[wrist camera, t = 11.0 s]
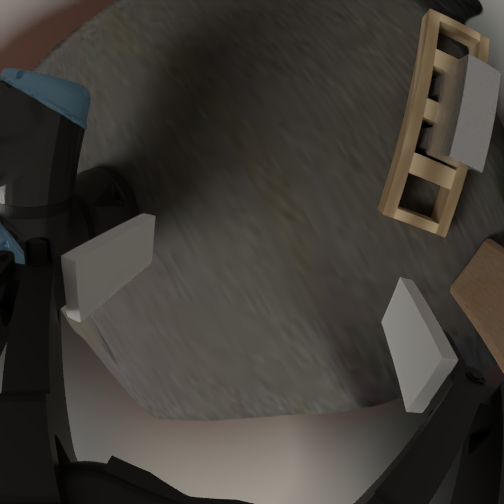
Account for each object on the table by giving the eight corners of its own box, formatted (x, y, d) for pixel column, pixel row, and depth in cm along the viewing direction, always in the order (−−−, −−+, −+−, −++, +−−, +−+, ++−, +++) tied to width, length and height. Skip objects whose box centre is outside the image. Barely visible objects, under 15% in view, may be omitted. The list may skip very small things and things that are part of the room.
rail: (377, 208, 37) (382, 214, 34) (422, 17, 27) (429, 8, 24) (436, 230, 36) (445, 237, 33) (478, 45, 26) (489, 39, 23)
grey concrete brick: (413, 152, 34) (449, 156, 23) (430, 75, 30) (468, 53, 19) (439, 163, 33) (482, 172, 22) (456, 88, 29) (500, 72, 18)
